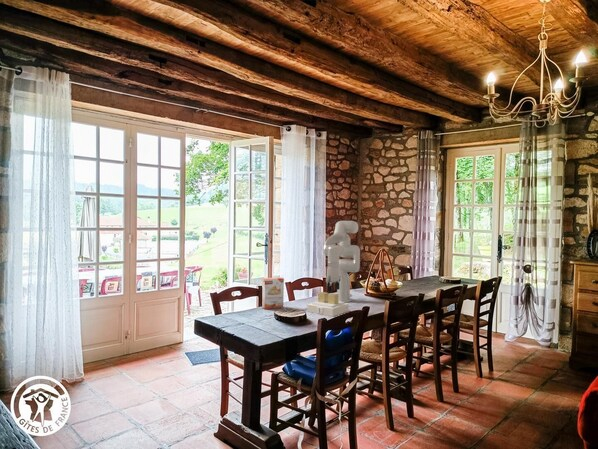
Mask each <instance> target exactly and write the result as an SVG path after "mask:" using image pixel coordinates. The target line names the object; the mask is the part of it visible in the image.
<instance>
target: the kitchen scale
mask: <svg viewBox="0 0 598 449" xmlns="http://www.w3.org/2000/svg"><path fill="white" fill-rule="evenodd" d="M349 305H350V304H349V302H340V301H338V303H337V304H329V303H328V302H325V303H322V302H318V300H317V301H313V302H311V303H309V304H306V306H307V309H306V310H307V311H306V312H307V313H310V314H311V313H312V314H316V315H323V316H328V317H335V316H338V315H341V314H344V313H347V312H349V308H350V307H349Z"/></svg>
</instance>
